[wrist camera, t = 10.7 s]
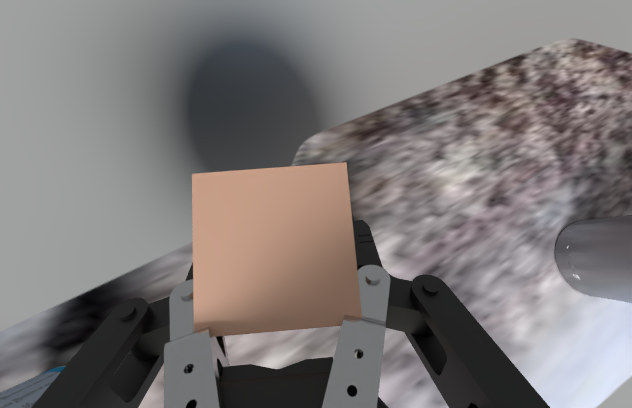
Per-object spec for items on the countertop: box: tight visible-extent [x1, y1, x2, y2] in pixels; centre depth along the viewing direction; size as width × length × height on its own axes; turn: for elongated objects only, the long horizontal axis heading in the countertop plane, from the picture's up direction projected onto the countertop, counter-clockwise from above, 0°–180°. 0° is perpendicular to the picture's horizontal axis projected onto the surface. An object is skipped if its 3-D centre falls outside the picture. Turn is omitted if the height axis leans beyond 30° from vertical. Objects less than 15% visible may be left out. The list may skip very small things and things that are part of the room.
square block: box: [192, 162, 362, 337], centre depth 14 cm, size 5×5×10 cm
